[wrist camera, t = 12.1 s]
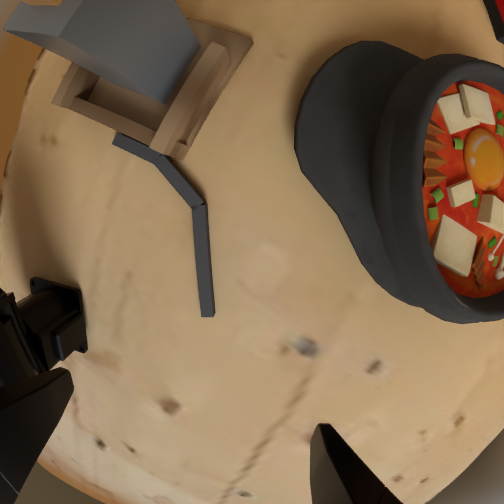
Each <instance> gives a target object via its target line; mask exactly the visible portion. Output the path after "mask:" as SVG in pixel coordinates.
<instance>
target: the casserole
mask: <svg viewBox="0 0 504 504" xmlns="http://www.w3.org/2000/svg"><path fill="white" fill-rule="evenodd" d="M294 150H295V153H296V156H297V159H298V162H299V166H300V169H301V171H302V173H303V174H304V175H305V176H306V178H307V179H308V180H309V181H310V183H311V184H312V185H313V187H314V188H315V189H316V190H317V192H318V193H319V194H320V195H321V196H322V198H323V199H324V200H325V201H326V202H327V203H328V205H329V206H330V207H331V208H332V209H333V211H334V212H335V213H336V214H337V216H338V218H339V220H340V222H341V224H342V226H343V228H344V230H345V231H346V233H347V235H348V237H349V239H350V241H351V243H352V245H353V248H354V250H355V252H356V254H357V256H358V258H359V260H360V262H361V264H362V265H363V266H364V267H365V269H366V270H367V271H368V273H369V274H370V275H371V276H372V278H373V279H374V280H375V282H376V283H377V284H379V285H380V286H381V287H382V288H383V289H385V290H386V291H387V292H388V293H389V294H390V295H392V296H393V297H395V298H397V299H399V300H401V301H403V302H405V303H407V304H409V305H412V306H416V307H421V308H423V309H424V310H425V311H426V312H428V313H430V314H432V315H434V316H436V317H438V318H440V319H442V320H444V321H448V322H453V323H458V324H467V323H478V322H489V321H497V320H501V319H503V318H504V68H503V67H501V66H500V65H498V64H494V63H491V62H488V61H484V60H479V59H477V58H474V57H470V56H466V55H461V54H440V55H437V56H434V57H431V58H428V59H426V60H423V59H421V58H419V57H417V56H415V55H413V54H411V53H409V52H407V51H404V50H402V49H400V48H397V47H395V46H392V45H389V44H387V43H384V42H381V41H360V42H357V43H354V44H352V45H349V46H346V47H344V48H343V49H341V50H340V51H338V52H337V53H336V54H334V55H333V56H331V57H330V58H329V59H327V60H326V62H325V63H324V64H323V65H322V66H321V67H320V69H319V70H318V71H317V72H316V73H315V75H314V76H313V77H312V78H311V80H310V83H309V85H308V87H307V89H306V91H305V93H304V95H303V97H302V99H301V101H300V105H299V109H298V113H297V117H296V121H295V128H294Z"/></svg>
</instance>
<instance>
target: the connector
mask: <svg viewBox="0 0 504 504" xmlns="http://www.w3.org/2000/svg"><path fill="white" fill-rule="evenodd" d="M3 30H4V31H7V32H9V33H12V34H14V35H16V36H18V37H21V38H23V39H25V40H28V41H30V42H32V43H34V44H37V45H39V46H41V47H43V48H45V49H47V50H49V51H51V52H53V53H55V54H57V55H59V56H61V57H63V58H65V59H67V60H69V61H71V62H73V63H75V64H77V65H79V66H81V67H83V68H85V69H87V70H89V71H91V72H93V73H94V74H96V75H98V76H100V77H102V78H104V79H106V80H107V81H109V82H111V83H113V84H115V85H118V86H120V87H123V88H126V89H128V90H131V91H134V92H136V93H139V94H141V95H144V96H146V97H149V98H151V99H154V100H156V101H158V102H161V103H163V104H166V102H167V100H168V99H169V97H170V95H171V94H172V92H173V90H174V89H175V87H176V85H177V84H178V82H179V80H180V79H181V77H182V76H183V74H184V72H185V71H186V69H187V68H188V66H189V65H190V63H191V62H192V60H193V59H194V57H195V56H196V54H197V53H198V51H199V50H200V48H201V46H200V44H199V42H198V40H197V38H196V36H195V34H194V33H193V31H192V29H191V27H190V25H189V24H188V22H187V20H186V18H185V16H184V15H183V13H182V11H181V9H180V8H179V6H178V4H177V2H176V1H175V0H21V1H20V3H19V4H18V6H17V8H16V9H15V10H14V12H13V14H12V15H11V17H10V18H9V20H8V22H7V23H6V25H5V27H4V28H3Z"/></svg>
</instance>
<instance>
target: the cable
mask: <svg viewBox="0 0 504 504" xmlns="http://www.w3.org/2000/svg"><path fill="white" fill-rule="evenodd" d="M112 144H113V145H115V146H117V147H119V148H121V149H124V150H126V151H128V152H130V153H132V154H134V155H136V156H138V157H140V158H142V159H144V160H147V161H149V162H151V163H153V164H154V165H155V166H156V167H157V168H158V169H159V171H160V172H161V173H162V174H163V175H164V177H165V178H166V179H167V180H168V181H169V182H170V184H171V185H172V186H173V187H174V188H175V190H176V191H177V192H178V193H179V194H180V195H181V197H182V198H183V199H184V200H185V201H186V203H187V204H188V205H189V206H190V207H191V208H192V218H193V232H194V246H195V258H196V269H197V280H198V290H199V299H200V309H201V317H214V315H215V303H214V292H213V280H212V267H211V254H210V240H209V224H208V207H207V204H204V203H205V202H206V201H205V199H204V198H203V197H202V196H201V195H200V194H199V192H198V191H197V190H196V189H195V188H194V187H193V185H192V184H191V183H190V182H189V181H188V180H187V178H186V177H185V176H184V175H183V174H182V173H181V171H180V170H179V169H178V168H177V167H176V166H175V164H174V163H173V162H172V161H171V160H170V159H169V157H168V156H167V155H164V154H161V153H159V152H157V151H155V150H153V149H151V148H149V146H147V145H145V144H143V143H141V142H138V141H136V140H134V139H132V138H130V137H127V136H125V135H123V134H120V133H117V134H116V136H115V138H114V140H113V142H112ZM202 204H204V205H202Z"/></svg>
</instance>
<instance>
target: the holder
mask: <svg viewBox="0 0 504 504" xmlns="http://www.w3.org/2000/svg"><path fill="white" fill-rule="evenodd" d="M186 20H187V22H188V24H189V25H190V27H191V29H192V31H193V33H194V34H195V36H196V38H197V40H198V42H199V44H200V46H201V48H200V50H199V51H198V53H197V54H196V56H195V57H194V59H193V60H192V62H191V63H190V65H189V66H188V68H187V69H186V71H185V72H184V74H183V76H182V77H181V79H180V80H179V82H178V84H177V85H176V87H175V89H174V90H173V92H172V94H171V95H170V97H169V99H168V100H167V102H166V104H163V103H161V102H158V101H156V100H154V99H151V98H149V97H146V96H144V95H141V94H139V93H136V92H134V91H131V90H128V89H126V88H123V87H120V86H118V85H115V84H113V83H111V82H109V81H107V80H106V79H104V78H102V77H100V76H98V75H96V74H94V73H93V72H91V71H89V70H87V69H85V68H83V67H81V66H79V65H77V64H75V63H73V62H72V63H71V65H70V67H69V69H68V71H67V72H66V74H65V76H64V78H63V80H62V82H61V84H60V86H59V88H58V90H57V92H56V94H55V96H54V98H53V100H52V103H53V104H55V105H58V106H61V107H64V108H68V109H70V110H73V111H75V112H77V113H79V114H82V115H84V116H86V117H89V118H91V119H93V120H95V121H97V122H100V123H102V124H104V125H106V126H108V127H110V128H113V129H115V130H117V131H119V132H121V133H123V134H125V135H128V136H130V137H132V138H134V139H136V140H138V141H140V142H142V143H144V144H146V145H148V146H149V148H151V149H153V150H155V151H157V152H159V153H161V154H164V155H168V156H171V157H173V158H177V159H181V160H184V158H185V156H186V154H187V152H188V150H189V148H190V147H191V145H192V143H193V141H194V139H195V137H196V136H197V134H198V132H199V130H200V128H201V127H202V125H203V123H204V121H205V120H206V118H207V116H208V114H209V113H210V111H211V109H212V107H213V106H214V104H215V102H216V101H217V99H218V97H219V96H220V94H221V92H222V91H223V89H224V88H225V86H226V84H227V83H228V81H229V80H230V78H231V76H232V75H233V73H234V72H235V70H236V69H237V67H238V66H239V64H240V63H241V61H242V60H243V58H244V57H245V55H246V54H247V52H248V51H249V49H250V48H251V46H252V45H253V40H251V39H249V38H246V37H243V36H241V35H238V34H235V33H233V32H230V31H227V30H224V29H221V28H218V27H215V26H212V25H209V24H206V23H202V22H199V21H195V20H192V19H188V18H186Z"/></svg>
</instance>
